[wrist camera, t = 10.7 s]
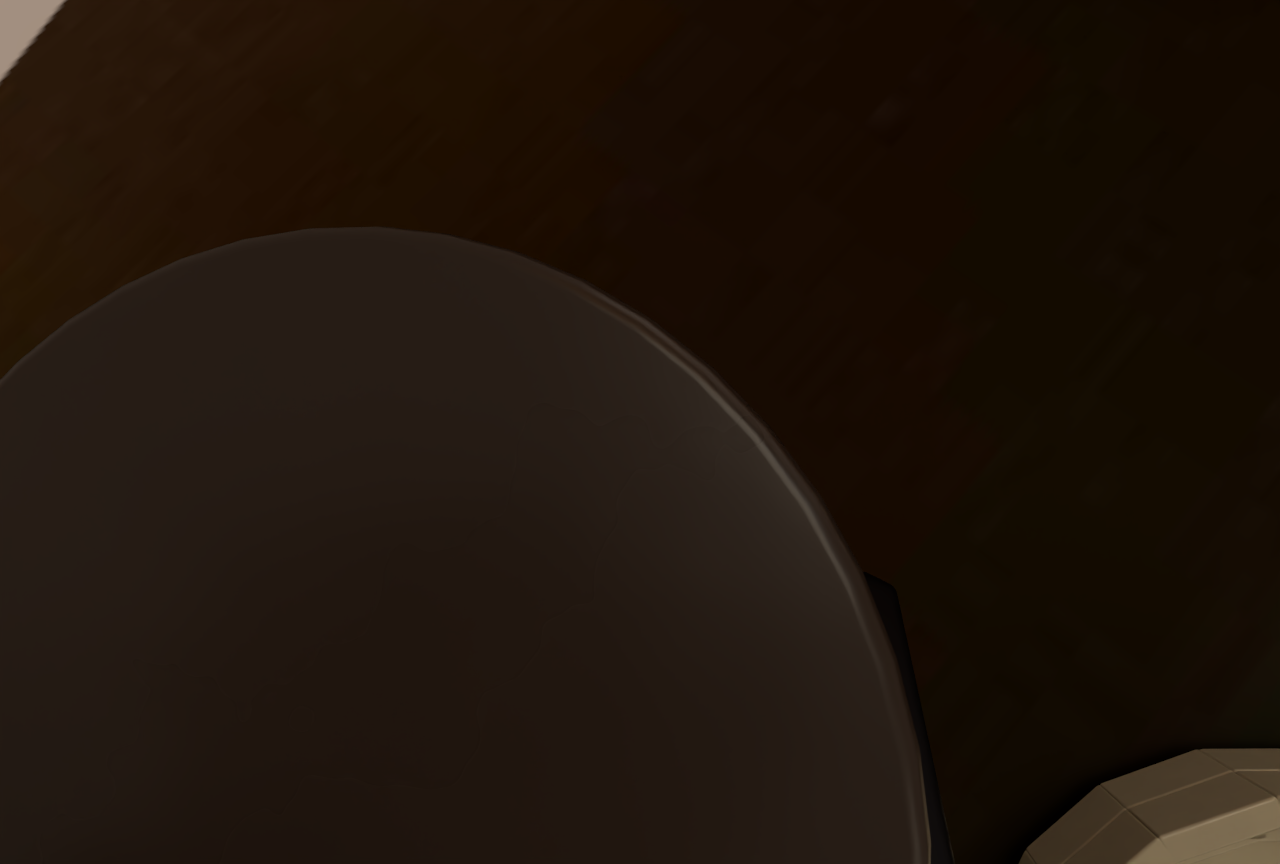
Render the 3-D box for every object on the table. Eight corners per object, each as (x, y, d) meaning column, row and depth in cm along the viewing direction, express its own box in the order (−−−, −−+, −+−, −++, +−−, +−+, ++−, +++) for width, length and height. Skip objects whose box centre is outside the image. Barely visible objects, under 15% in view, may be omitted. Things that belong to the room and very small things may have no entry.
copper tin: (624, 715, 15) (-35, 1648, 3) (537, 498, 16) (-284, 498, 4) (845, 625, 14) (1219, 1321, 2) (743, 404, 15) (602, 14, 3)
